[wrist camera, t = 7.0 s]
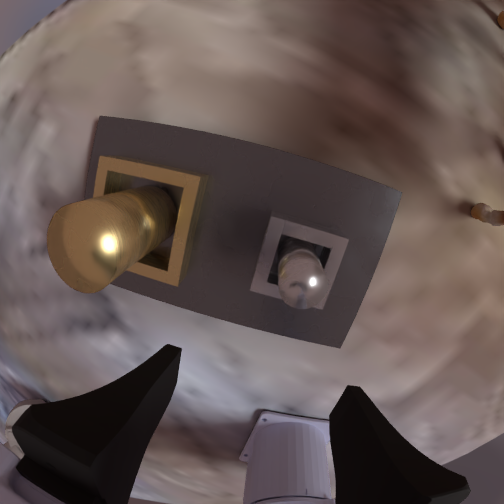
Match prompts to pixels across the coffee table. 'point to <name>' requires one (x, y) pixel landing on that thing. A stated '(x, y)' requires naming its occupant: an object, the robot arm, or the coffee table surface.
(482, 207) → the horse figurine
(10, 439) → the valve
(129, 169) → the plate
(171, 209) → the brass fitting
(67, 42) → the coffee table surface
